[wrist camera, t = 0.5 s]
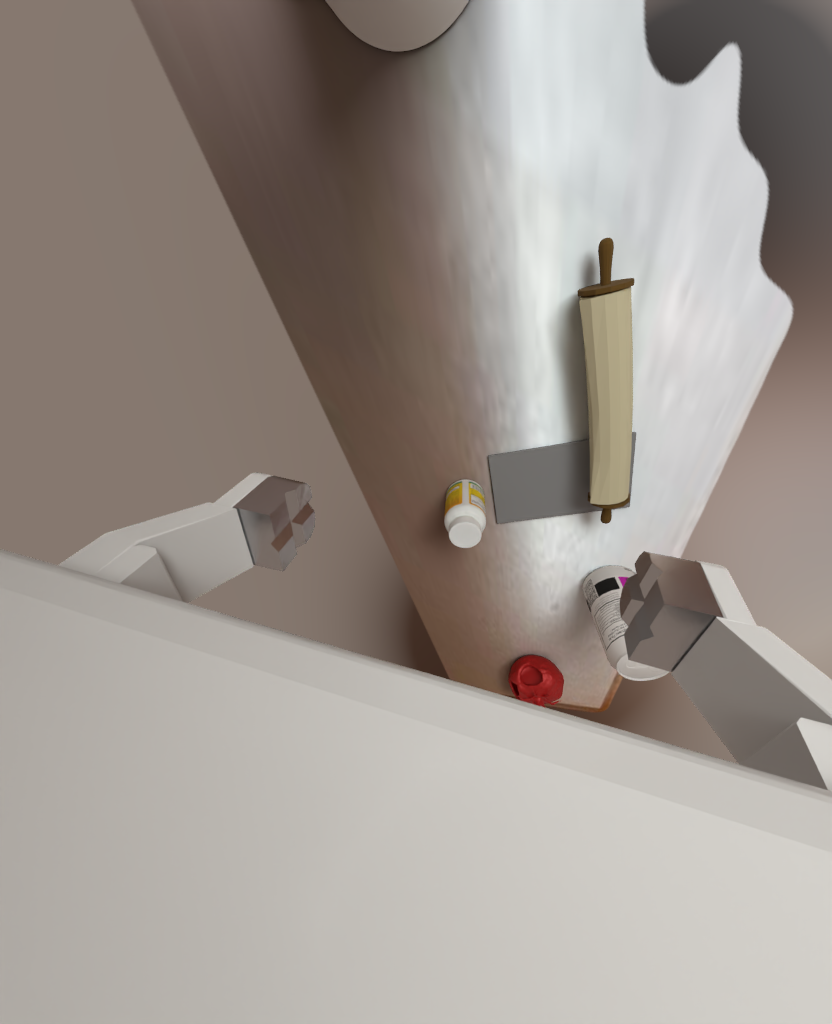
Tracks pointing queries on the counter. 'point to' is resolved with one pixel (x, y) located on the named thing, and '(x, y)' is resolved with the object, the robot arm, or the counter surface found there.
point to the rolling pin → (608, 384)
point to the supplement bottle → (465, 513)
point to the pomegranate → (536, 680)
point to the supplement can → (614, 620)
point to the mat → (544, 481)
